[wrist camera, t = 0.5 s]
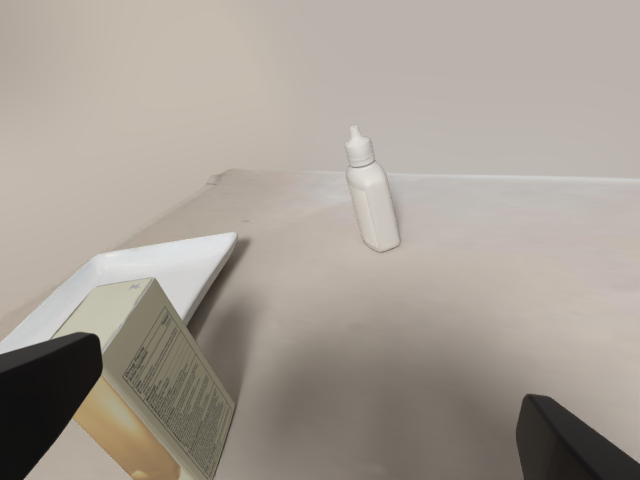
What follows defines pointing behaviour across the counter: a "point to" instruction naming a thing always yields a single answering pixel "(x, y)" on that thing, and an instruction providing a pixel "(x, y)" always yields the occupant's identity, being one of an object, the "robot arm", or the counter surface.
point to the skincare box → (150, 385)
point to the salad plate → (129, 264)
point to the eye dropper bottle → (370, 194)
